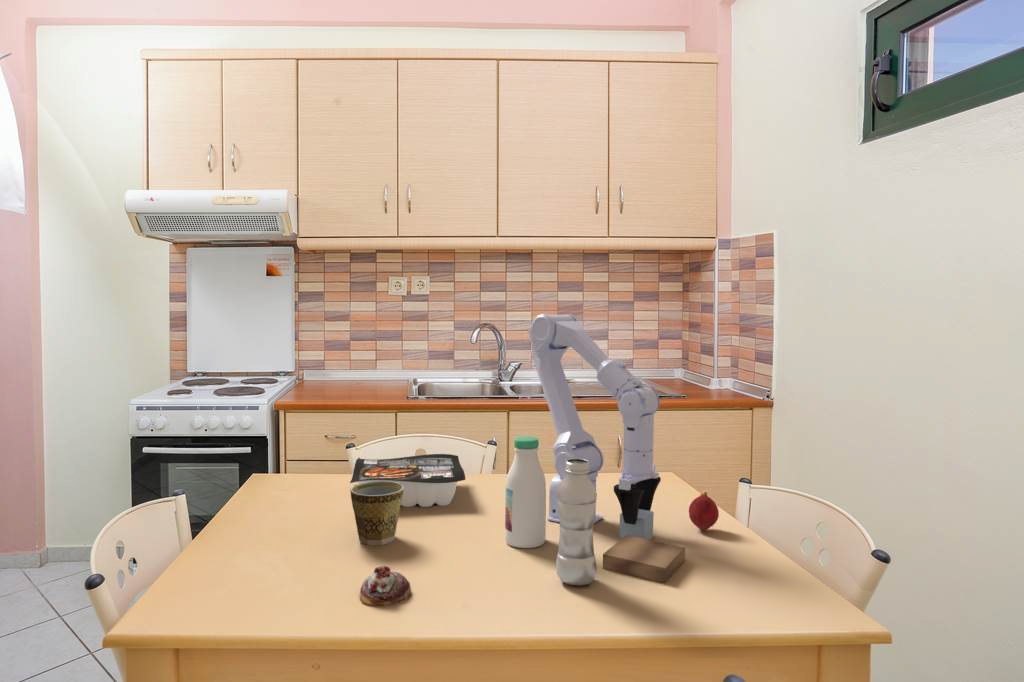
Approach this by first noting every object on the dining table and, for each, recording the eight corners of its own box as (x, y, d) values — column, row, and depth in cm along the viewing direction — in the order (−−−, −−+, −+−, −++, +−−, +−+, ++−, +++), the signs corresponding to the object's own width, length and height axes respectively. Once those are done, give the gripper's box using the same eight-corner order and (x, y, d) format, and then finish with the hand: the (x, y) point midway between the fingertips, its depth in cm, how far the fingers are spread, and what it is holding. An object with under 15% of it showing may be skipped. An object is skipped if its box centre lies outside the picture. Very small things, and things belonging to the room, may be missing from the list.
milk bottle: (551, 538, 126) (552, 436, 124) (536, 552, 119) (537, 444, 117) (515, 532, 129) (516, 432, 128) (498, 545, 122) (499, 440, 121)
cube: (619, 539, 126) (620, 513, 126) (629, 531, 130) (629, 507, 130) (644, 544, 123) (644, 518, 123) (653, 536, 128) (653, 511, 127)
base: (602, 568, 112) (602, 554, 111) (626, 548, 121) (626, 535, 121) (664, 583, 106) (665, 568, 106) (684, 560, 115) (685, 547, 115)
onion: (719, 536, 127) (720, 496, 127) (689, 534, 129) (690, 494, 128) (716, 527, 133) (717, 488, 133) (687, 524, 134) (688, 486, 134)
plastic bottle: (585, 594, 101) (588, 468, 100) (548, 584, 105) (549, 462, 104) (602, 579, 107) (605, 460, 106) (566, 570, 110) (567, 454, 109)
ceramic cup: (414, 539, 125) (414, 487, 124) (370, 553, 117) (370, 499, 117) (374, 523, 133) (374, 475, 133) (331, 535, 126) (331, 484, 126)
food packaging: (349, 479, 139) (357, 455, 162) (349, 514, 140) (357, 485, 162) (465, 476, 143) (458, 453, 166) (465, 509, 144) (457, 482, 166)
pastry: (363, 611, 96) (363, 577, 95) (355, 590, 103) (354, 559, 102) (416, 601, 99) (416, 569, 98) (404, 582, 106) (404, 552, 105)
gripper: (645, 458, 117) (643, 532, 118) (670, 444, 130) (669, 511, 131) (608, 454, 121) (607, 525, 122) (636, 440, 134) (635, 505, 134)
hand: (637, 517), depth 126 cm, fingers open, 7 cm apart
